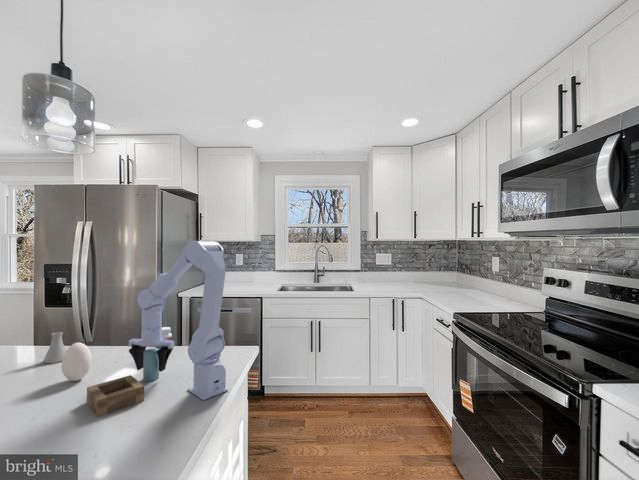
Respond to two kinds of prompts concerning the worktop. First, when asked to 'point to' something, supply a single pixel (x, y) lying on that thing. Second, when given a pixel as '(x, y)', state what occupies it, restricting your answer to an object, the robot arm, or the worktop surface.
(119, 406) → the walnut holder
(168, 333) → the pill bottle
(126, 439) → the worktop surface
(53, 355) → the flask
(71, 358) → the egg
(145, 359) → the teal peg
